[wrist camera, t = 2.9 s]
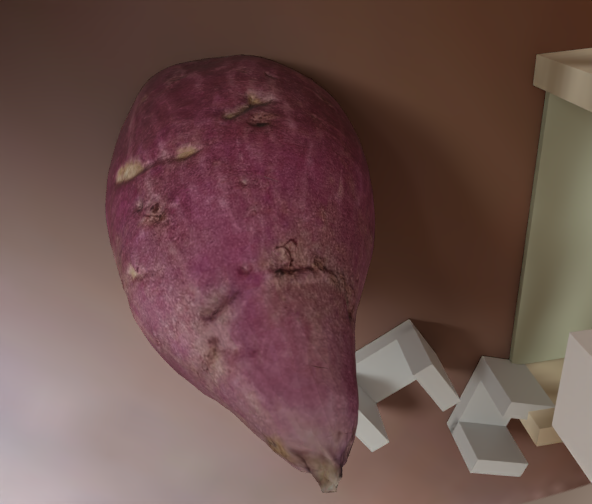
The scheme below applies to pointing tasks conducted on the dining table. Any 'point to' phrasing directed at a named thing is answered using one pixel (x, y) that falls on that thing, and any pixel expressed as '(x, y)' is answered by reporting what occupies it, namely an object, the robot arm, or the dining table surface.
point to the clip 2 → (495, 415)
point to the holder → (557, 232)
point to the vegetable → (249, 246)
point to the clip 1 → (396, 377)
